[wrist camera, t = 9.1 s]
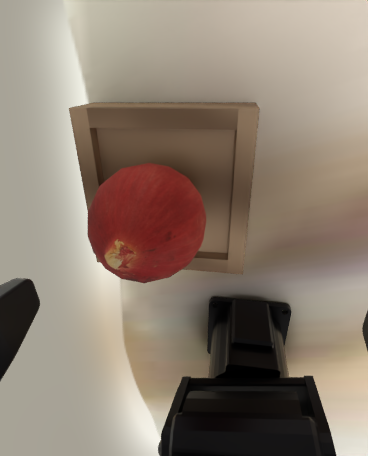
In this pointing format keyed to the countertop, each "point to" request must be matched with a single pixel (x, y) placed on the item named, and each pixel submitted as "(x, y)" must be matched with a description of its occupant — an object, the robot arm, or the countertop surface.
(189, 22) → the countertop surface
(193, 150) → the brown wooden tray
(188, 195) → the onion
